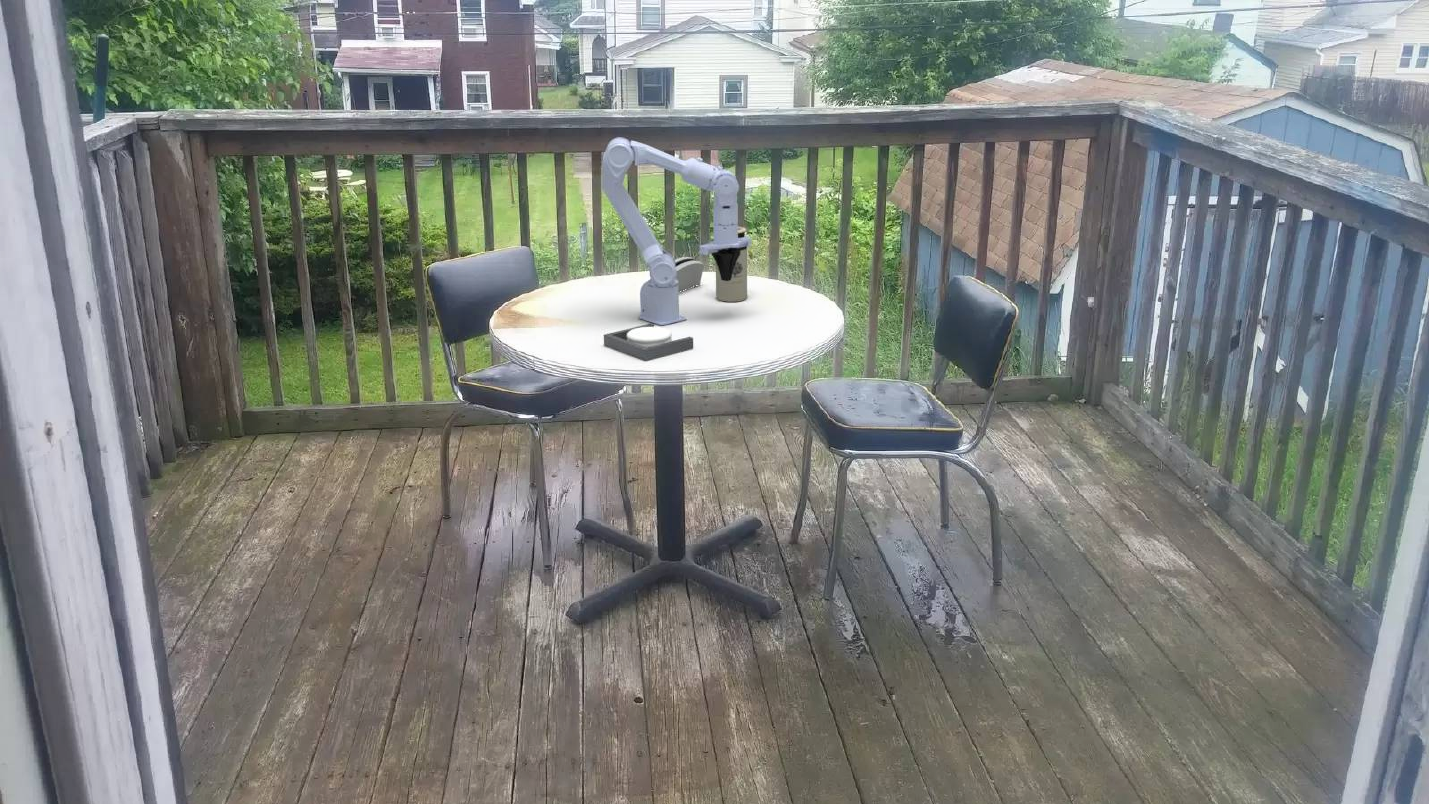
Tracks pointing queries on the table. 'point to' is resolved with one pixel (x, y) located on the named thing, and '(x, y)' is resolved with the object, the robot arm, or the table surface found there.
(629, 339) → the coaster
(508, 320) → the table surface
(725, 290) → the travel mug
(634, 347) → the frame
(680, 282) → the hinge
